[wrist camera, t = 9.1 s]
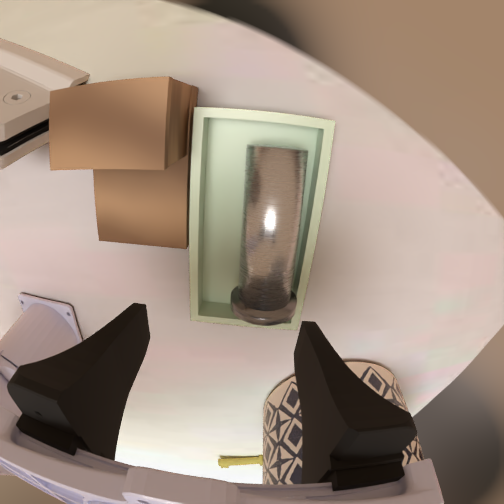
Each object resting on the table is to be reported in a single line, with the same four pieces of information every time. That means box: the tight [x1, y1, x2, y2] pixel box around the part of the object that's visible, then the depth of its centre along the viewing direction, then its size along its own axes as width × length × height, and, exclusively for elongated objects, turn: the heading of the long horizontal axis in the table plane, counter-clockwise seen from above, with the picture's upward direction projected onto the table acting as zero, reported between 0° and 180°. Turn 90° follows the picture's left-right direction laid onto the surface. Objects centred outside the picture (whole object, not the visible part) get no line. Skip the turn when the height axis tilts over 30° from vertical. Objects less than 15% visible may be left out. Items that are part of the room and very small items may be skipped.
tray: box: [189, 107, 335, 330], centre depth 20 cm, size 15×8×2 cm, turn 175°
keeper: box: [49, 77, 198, 249], centre depth 17 cm, size 11×7×7 cm, turn 175°
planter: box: [263, 362, 425, 485], centre depth 24 cm, size 16×16×14 cm
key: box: [218, 455, 263, 468], centre depth 37 cm, size 7×12×2 cm, turn 112°
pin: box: [230, 144, 308, 326], centre depth 19 cm, size 11×5×5 cm, turn 176°
